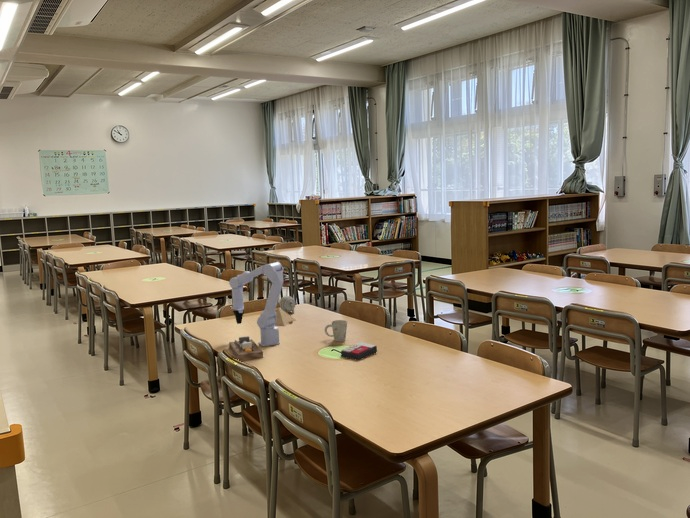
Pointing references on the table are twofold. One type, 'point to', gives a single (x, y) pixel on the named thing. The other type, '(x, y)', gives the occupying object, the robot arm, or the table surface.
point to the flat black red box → (359, 351)
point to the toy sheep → (287, 304)
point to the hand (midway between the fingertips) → (239, 323)
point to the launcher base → (241, 353)
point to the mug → (338, 330)
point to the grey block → (245, 342)
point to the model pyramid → (283, 318)
